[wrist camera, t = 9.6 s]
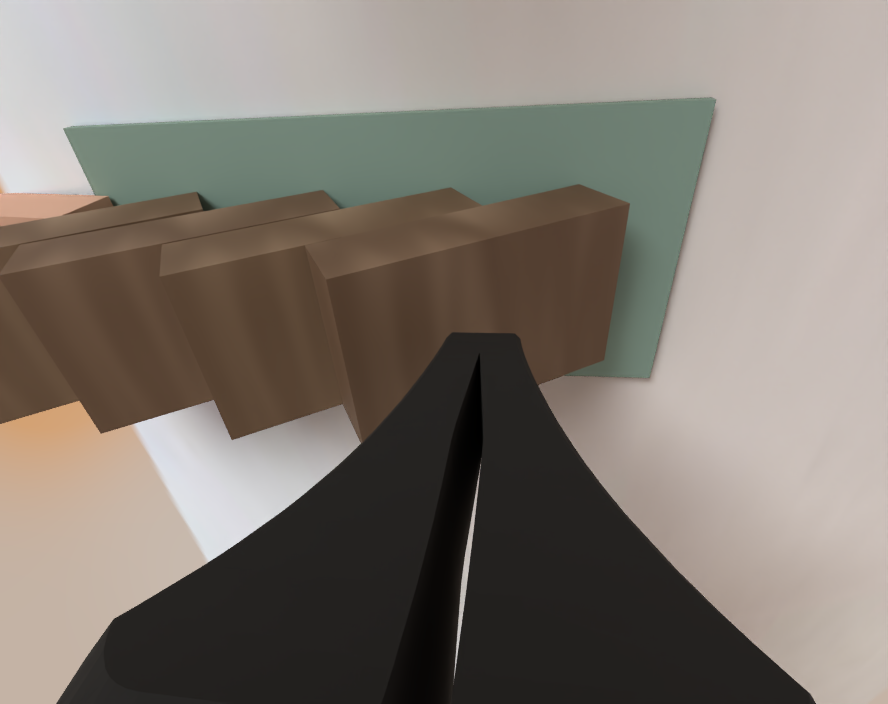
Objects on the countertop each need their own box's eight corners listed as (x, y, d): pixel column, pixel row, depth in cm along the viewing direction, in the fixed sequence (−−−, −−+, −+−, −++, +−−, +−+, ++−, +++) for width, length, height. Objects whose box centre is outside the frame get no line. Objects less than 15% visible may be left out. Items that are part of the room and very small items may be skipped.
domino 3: (483, 206, 11) (159, 276, 9) (485, 357, 14) (231, 440, 12) (450, 187, 13) (161, 244, 11) (457, 327, 15) (226, 396, 13)
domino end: (54, 218, 13) (-131, 210, 14) (128, 354, 15) (-34, 334, 17) (108, 195, 14) (-65, 190, 16) (168, 323, 17) (14, 307, 18)
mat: (712, 97, 11) (716, 99, 11) (647, 372, 16) (649, 377, 15) (71, 126, 13) (63, 128, 13) (180, 359, 18) (175, 364, 18)
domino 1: (202, 209, 12) (-161, 277, 10) (251, 349, 15) (-28, 432, 12) (196, 191, 14) (-125, 248, 11) (242, 323, 16) (-11, 392, 14)
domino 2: (340, 208, 12) (-3, 275, 10) (366, 354, 14) (100, 433, 12) (322, 189, 13) (19, 244, 11) (349, 325, 16) (108, 392, 13)
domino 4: (630, 203, 11) (326, 279, 9) (604, 360, 13) (364, 450, 11) (578, 183, 12) (304, 245, 10) (564, 329, 15) (342, 404, 13)
